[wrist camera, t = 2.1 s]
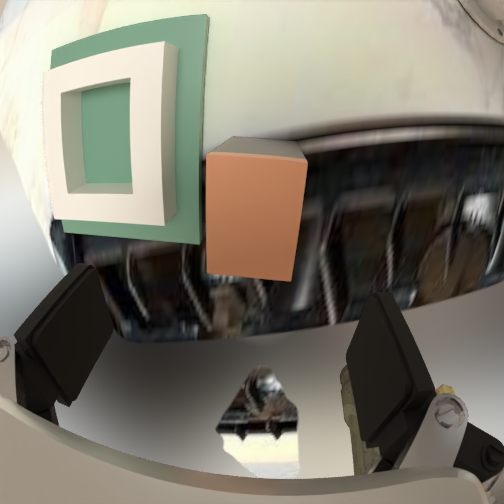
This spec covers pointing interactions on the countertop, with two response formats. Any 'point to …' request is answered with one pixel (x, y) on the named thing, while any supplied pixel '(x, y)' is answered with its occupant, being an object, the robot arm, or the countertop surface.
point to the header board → (128, 131)
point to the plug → (254, 207)
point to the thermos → (356, 429)
